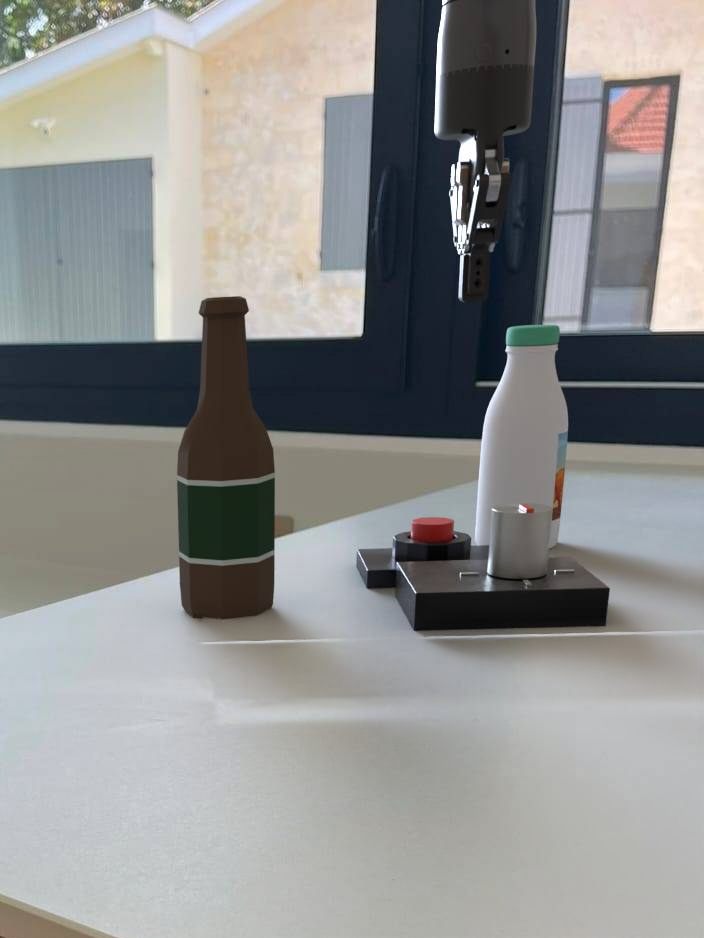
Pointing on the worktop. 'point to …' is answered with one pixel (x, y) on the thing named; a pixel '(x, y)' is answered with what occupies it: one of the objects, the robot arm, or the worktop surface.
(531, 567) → the burner knob
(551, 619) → the panel
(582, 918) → the worktop surface
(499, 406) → the milk bottle
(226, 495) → the beer bottle
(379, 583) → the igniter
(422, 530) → the button
